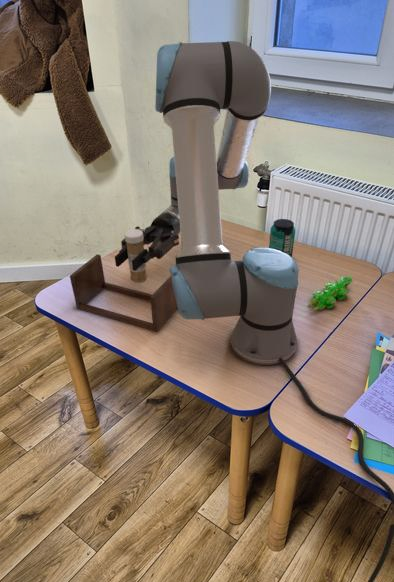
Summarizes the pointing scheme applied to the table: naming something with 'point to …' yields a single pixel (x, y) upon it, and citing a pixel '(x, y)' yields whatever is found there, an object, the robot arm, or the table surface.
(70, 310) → the table surface
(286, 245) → the green supplement bottle
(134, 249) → the sprinkles bottle
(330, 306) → the green long bumpy piece
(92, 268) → the bottle rack
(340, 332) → the table surface
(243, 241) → the table surface
